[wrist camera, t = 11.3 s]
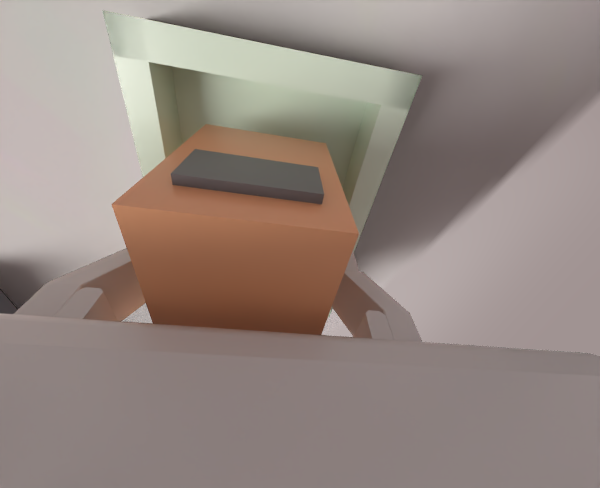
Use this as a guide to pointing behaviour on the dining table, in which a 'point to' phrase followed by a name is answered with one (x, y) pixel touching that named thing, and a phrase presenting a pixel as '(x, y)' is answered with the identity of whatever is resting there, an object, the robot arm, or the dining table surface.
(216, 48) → the tray
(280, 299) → the orange block
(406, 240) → the dining table surface
